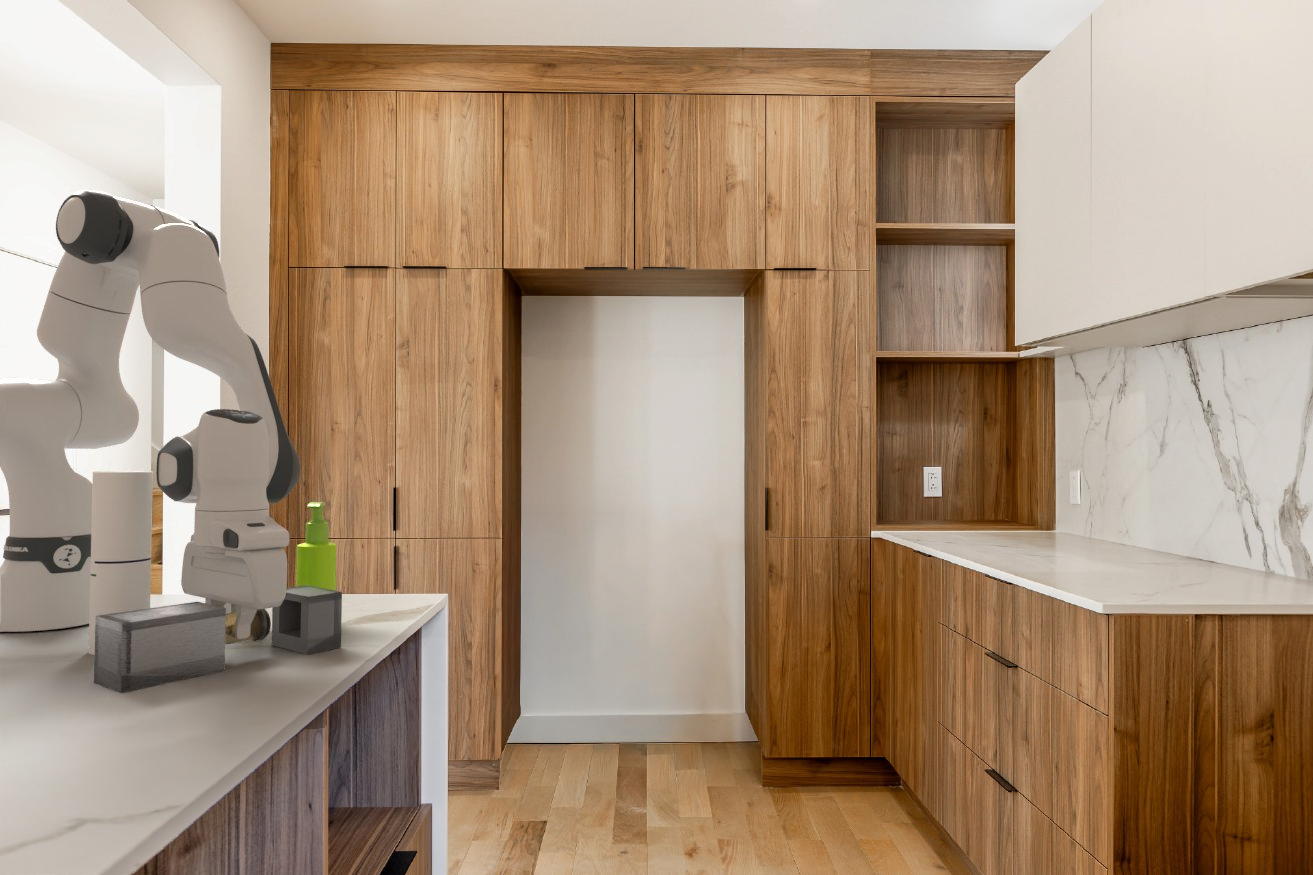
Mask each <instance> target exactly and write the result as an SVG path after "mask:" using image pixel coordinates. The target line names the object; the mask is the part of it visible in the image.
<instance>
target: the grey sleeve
mask: <svg viewBox="0 0 1313 875" xmlns="http://www.w3.org/2000/svg"><path fill="white" fill-rule="evenodd" d="M225 629H226V608H224V607H220V606H215V605H211V604H206V603H204V602H201V601H191V602H184V603H179V604H172V605H163V606H157V607H150V608H148V609H141V610H134V611H127V612H120V613H113V614H106V615H98V616H96V618H95V655H94V661H93V662H94V665H93V666H94V668H93V669H94V671H93V683H94V684H97V685H100V686H102V687H105V686H106V687H105V688H107V689H110V688H111V690H113V691H116V692H117V693H120V694H122V693H127V692H131V691H135V690H141V689H145V688H149V687H154V686H159V685H164V684H167V683H172V682H178V681H183V680H188V679H190V678H191V679H192V678H196V677H201V676H205V675H210V674H215V673H219V672H223V671H225V670H226V666H225V665H226V645H225Z"/></svg>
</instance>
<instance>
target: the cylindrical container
mask: <svg viewBox="0 0 1313 875" xmlns="http://www.w3.org/2000/svg"><path fill="white" fill-rule="evenodd" d="M92 484H93V485H92V530H91V575H90V613H89V624H88V654H89V655H92V656H95V618H96V616H98V615H106V614H113V613H120V612H127V611H134V610H141V609H148V608H151V584H152V582H151V581H152V580H151V578H152V543H153V542H152V541H153V540H152V539H153V538H152V536H153V535H152V534H153V493H154V491H153V490H154V487H153V486H154V471H151V470H147V471H146V470H102V471H101V470H100V471H92Z"/></svg>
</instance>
